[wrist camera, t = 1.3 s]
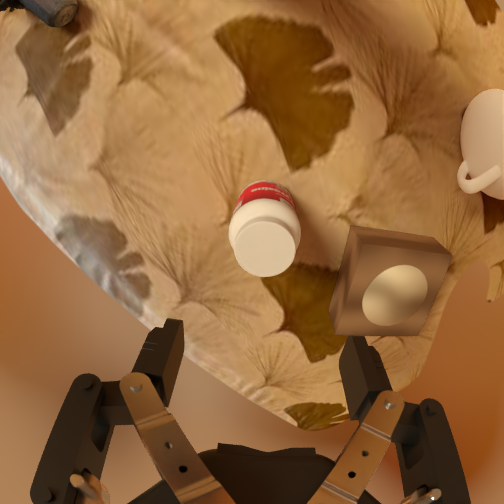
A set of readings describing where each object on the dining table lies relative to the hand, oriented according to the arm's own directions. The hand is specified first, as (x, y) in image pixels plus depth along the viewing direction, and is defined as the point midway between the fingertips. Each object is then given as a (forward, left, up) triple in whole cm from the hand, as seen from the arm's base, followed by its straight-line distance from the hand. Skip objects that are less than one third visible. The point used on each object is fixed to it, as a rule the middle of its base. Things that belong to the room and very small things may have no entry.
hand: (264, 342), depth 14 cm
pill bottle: (0, 0, -21) cm, 21 cm away
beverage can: (-27, -29, -21) cm, 45 cm away
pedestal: (+7, +16, -21) cm, 27 cm away
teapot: (-14, +28, -21) cm, 38 cm away
